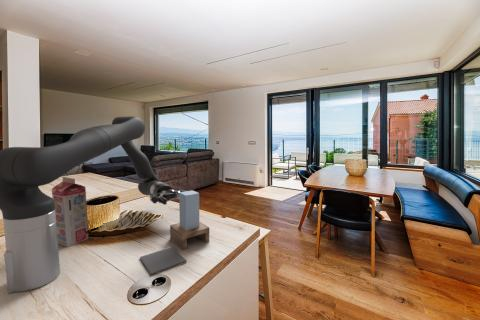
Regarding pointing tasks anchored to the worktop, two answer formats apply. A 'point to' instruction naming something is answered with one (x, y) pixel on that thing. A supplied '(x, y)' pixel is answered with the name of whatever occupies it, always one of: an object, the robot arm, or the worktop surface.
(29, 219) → the robot arm
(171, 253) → the coaster
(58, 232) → the juice carton
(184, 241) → the riser
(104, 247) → the worktop surface
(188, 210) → the block
